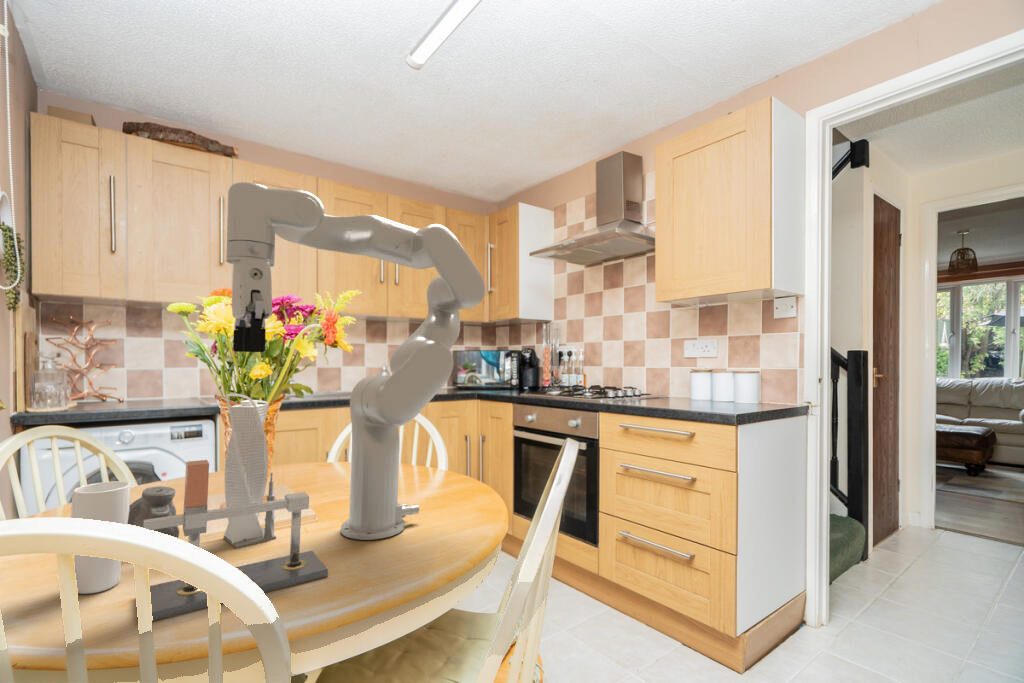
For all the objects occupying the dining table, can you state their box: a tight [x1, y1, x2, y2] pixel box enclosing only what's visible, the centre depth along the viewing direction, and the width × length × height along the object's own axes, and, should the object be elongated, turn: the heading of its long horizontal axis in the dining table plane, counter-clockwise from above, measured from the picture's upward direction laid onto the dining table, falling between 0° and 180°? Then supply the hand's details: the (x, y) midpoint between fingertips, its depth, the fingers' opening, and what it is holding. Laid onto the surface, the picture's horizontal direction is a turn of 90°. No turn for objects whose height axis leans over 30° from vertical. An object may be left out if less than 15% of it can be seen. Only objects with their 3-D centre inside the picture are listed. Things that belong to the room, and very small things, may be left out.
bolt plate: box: [149, 550, 329, 622], centre depth 73 cm, size 24×9×1 cm, turn 128°
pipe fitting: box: [128, 485, 180, 538], centre depth 88 cm, size 12×8×10 cm
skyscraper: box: [223, 393, 277, 549], centre depth 92 cm, size 8×8×28 cm
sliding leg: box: [182, 459, 210, 585], centre depth 70 cm, size 3×4×18 cm
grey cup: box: [70, 480, 131, 595], centre depth 72 cm, size 7×7×15 cm
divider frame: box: [143, 491, 310, 565], centre depth 73 cm, size 22×3×11 cm, turn 128°
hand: (248, 351), depth 84 cm, fingers open, 9 cm apart
